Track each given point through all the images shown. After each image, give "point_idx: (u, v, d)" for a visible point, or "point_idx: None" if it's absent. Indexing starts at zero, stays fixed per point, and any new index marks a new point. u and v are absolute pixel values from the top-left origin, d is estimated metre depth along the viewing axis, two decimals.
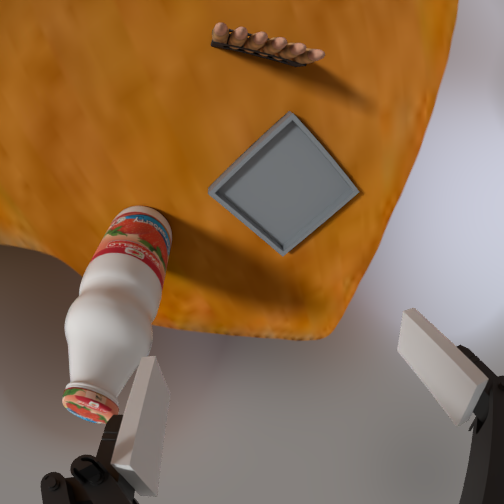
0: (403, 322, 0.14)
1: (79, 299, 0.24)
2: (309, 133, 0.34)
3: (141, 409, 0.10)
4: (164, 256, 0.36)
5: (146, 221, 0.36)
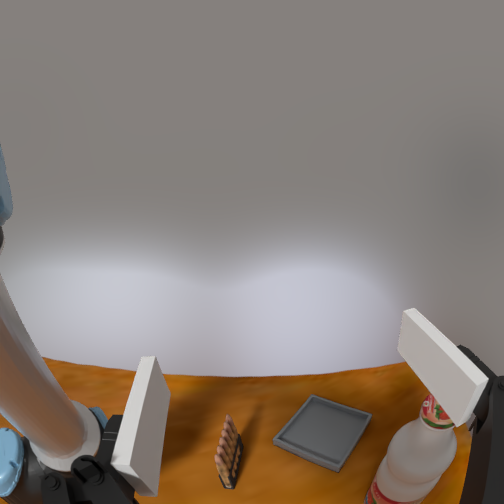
0: (403, 322, 0.14)
1: (397, 474, 0.23)
2: (283, 428, 0.51)
3: (141, 409, 0.10)
4: None
5: (367, 493, 0.32)
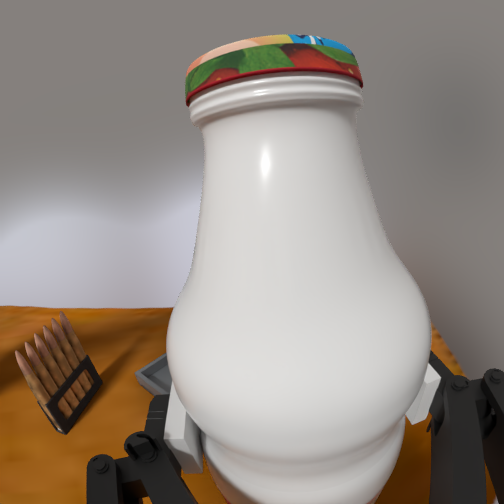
0: None
1: (179, 399, 0.08)
2: (154, 361, 0.36)
3: None
4: None
5: None
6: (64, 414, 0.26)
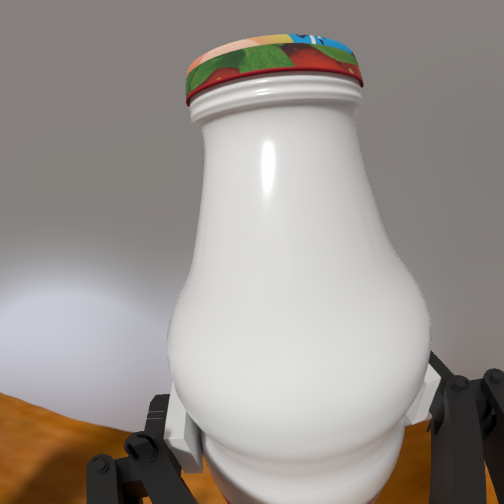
0: None
1: None
2: None
3: None
4: None
5: None
6: None
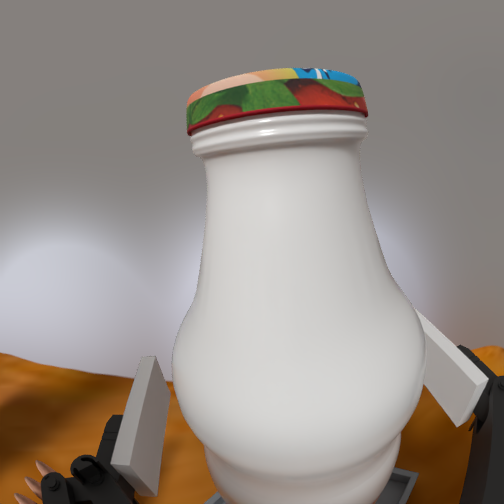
0: None
1: (185, 419, 0.08)
2: None
3: (141, 409, 0.10)
4: None
5: None
6: None
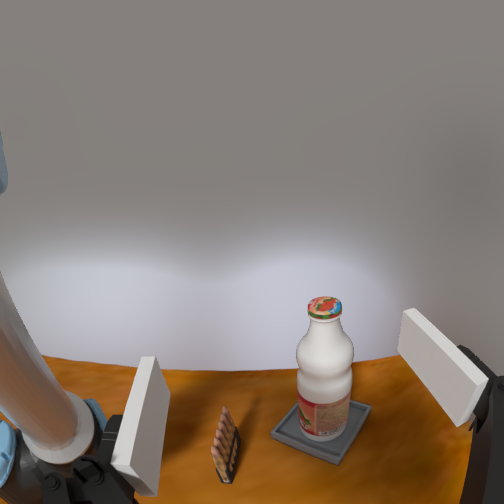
0: (403, 322, 0.14)
1: (302, 367, 0.42)
2: (281, 421, 0.51)
3: (141, 409, 0.10)
4: None
5: None
6: None
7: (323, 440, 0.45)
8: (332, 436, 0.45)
